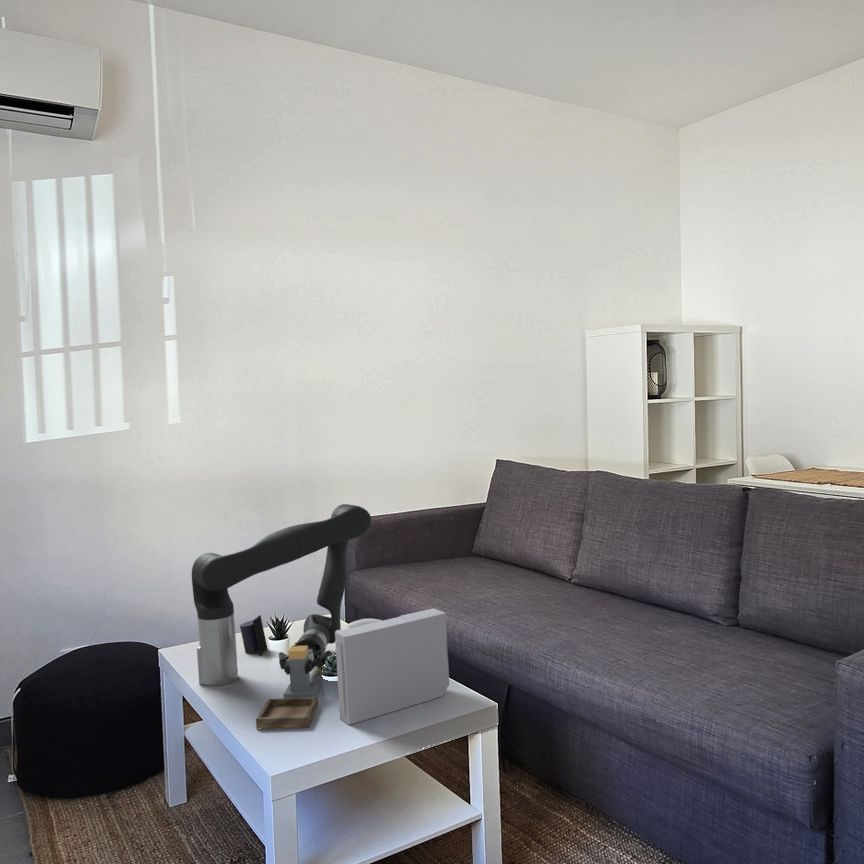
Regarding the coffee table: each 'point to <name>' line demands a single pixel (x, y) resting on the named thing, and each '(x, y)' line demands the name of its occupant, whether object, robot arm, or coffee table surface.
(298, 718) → the tray
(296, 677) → the plug
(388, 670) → the game console
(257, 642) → the speaker
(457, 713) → the coffee table surface
